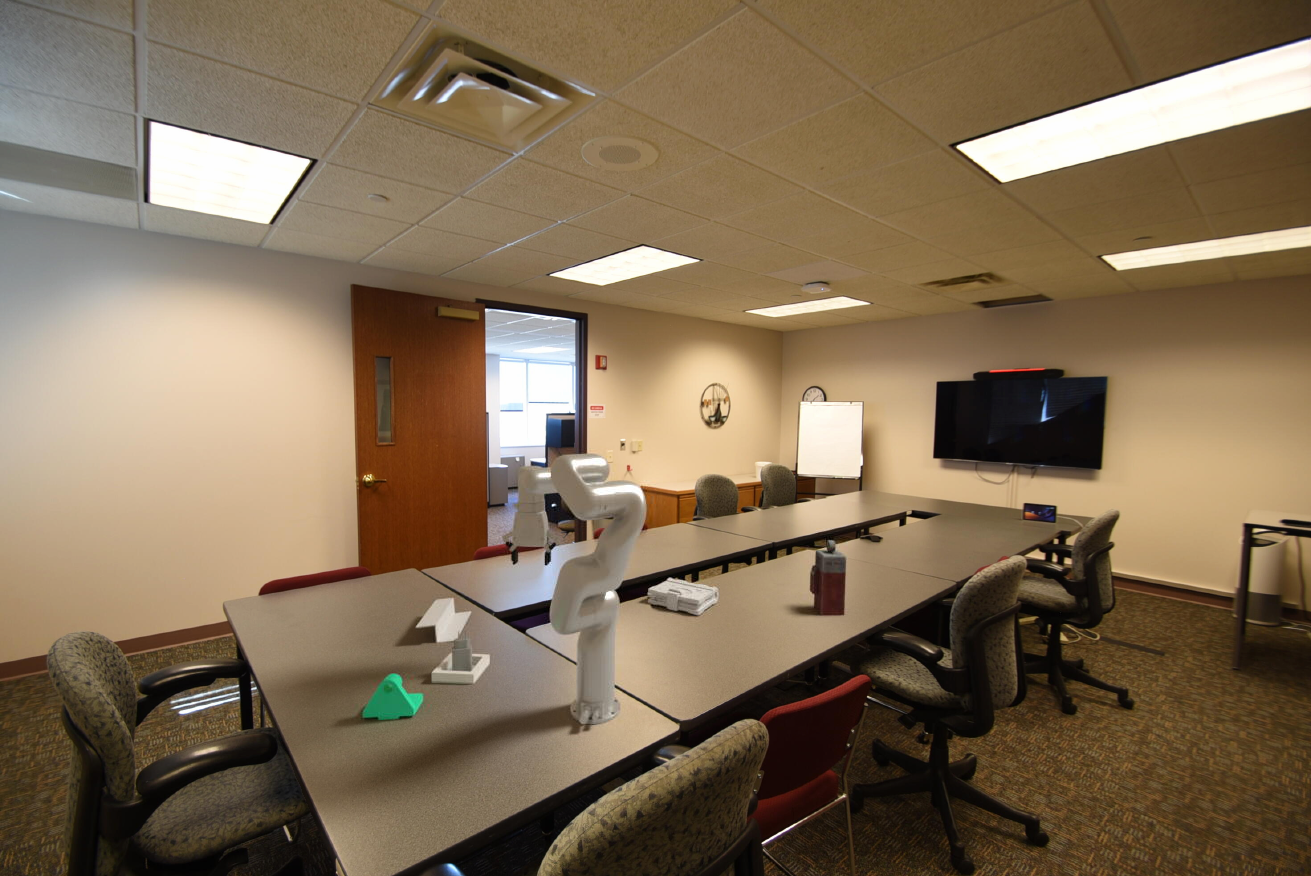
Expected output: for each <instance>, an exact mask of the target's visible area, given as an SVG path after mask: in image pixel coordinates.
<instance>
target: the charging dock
mask: <svg viewBox="0 0 1311 876" xmlns="http://www.w3.org/2000/svg"><path fill="white" fill-rule="evenodd" d="M490 656H491V655H490V654H487V653H486V654H483V653H472V670H471V672H469V671H452V652H450V653H449V654H448V655H447V656H446V657H445V658H444V659H443V660H442V661H441V662H440V663H439V664H438V665H437V666H436V667H435V668H434V669H433V671H432V672H431V684H457V685H460V684H461V685H462V684H463V685H475V683H476V682H477V681H478V680H479V678H480V677H481V676H482V675H483V673H484V672H485V671H486V670H487V668H488V667H489V665H490V664H491V662H490V661H491V659H490V658H491V657H490Z"/></svg>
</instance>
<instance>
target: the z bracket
mask: <svg viewBox="0 0 1311 876" xmlns="http://www.w3.org/2000/svg"><path fill="white" fill-rule="evenodd" d="M471 614H472V611H471V610H470V611H462V612H456V611H455V598H454V597H448V598H439V599H438V598H437V599H435V601H433V603H432V605H430V607H429V608H428V610H427V611H426V612H425V614H424V615H423V616H422V617H421V619H420V620H419V621H418V623H417V625H416V626H415V629H420V628H428V627H434V632H435V642H436V644H441V643H443V644H444V643H451V642H453V643H454V640H455V639H456V638H458V631H459V636H460V635H461V633H462V631H463V629H464V627H465V625H466V623H467V621H468V620H469V618H470V616H471Z"/></svg>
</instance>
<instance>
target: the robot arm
mask: <svg viewBox="0 0 1311 876" xmlns="http://www.w3.org/2000/svg"><path fill="white" fill-rule="evenodd" d="M610 469H611V468H610V464H609V462H608V461H607V460H606V459H605V457H603V456H602V455H599V454H597V453H577V454H576V453H575V454H573V453H572V454H563V455H560V456H558V457H556V458H555V459H554V460H553V462H552V464H551V466H550V467H548V466H547V467H542V466H539V465H523V466H521V467H519V469H518V472H517V478H518V479H517V481H518V482H517V484H518V485H517V492H518V493H517V497H518V498H517V500H518V501H517V502H515V503H513V508H514V509H517V510H516V511H515V513H514V517H513V524H512V530H511V531H510V532H508V533H505V534H504V535H503V536H502V541H503V542H504V545H505V546H506V547H507V548H508V550H509V551H510V557H511V558H510V560H511V562H512V565H514V566H515V565H516V564H517V563H519V550H518V547H526V548H527V547H529V548H530V547H532V548H533V547H535V548H536V547H537V548H538V547H540V548H541V547H542V548H543V550H545V552H544V566H546V567H547V566H548V565H549V564H550V563H551V562H552V550H553V549H554V548H555V547H556V546H557V545H558V543H559V541H560V539H561V536H559V535H558V534H556V533H555V532H552V531H550V530H549V528H550V527H549V520H548V515H547V512H546V510H545V495H546V494H547V495H548V494H557V493H558V494H559V495H560V497H561V498H562V500H563V501H564V503H565V504H566V506H567V507H568V508H569V510H570V511H571V513H572V514H573V516H575V517H576V518H577V519H579V520H581V521H595V520H603V519H609V518H613V519H612V520H611V521H610V522H609V523H608V524H607V525H606V526H605V527H604V529H603V530H602V531H601V533H600V535H599V537H598V539H597V543H596V547H595V549H594V551H593V552H592V553H590V554H587V555H582V556H577V557H573V558H571V559H568V560H567V561H566V562H564V564H562V566H561V568H560V570H559V573H558V577H557V580H556V583H555V587H554V592H553V595H552V598H551V603H550V606H549V607H550V608H549V621H550V625H551V627H552V629H553V631H555V632H556V633H557V634H558V635H562V636H567V635H574V634H576V633H579V635H578V639H577V642H576V643H577V644H576V699H574V700H573V701H572V702H571V703H570V707H569V708H570V709H569V710H570V711H569V713H570V715H571V717H572V718H573V719H574V720H575V721H577V722H578V723H580V724H582V725H586V724H587V725H600V724H601V725H602V724H605V723H607V722H610V721H612V720H614V719H615V718H617V716H619V714H620V713H621V702H620V700H619V699H617V698H616V697H615V678H616V677H615V674H616V673H615V672H616V671H615V669H616V667H615V665H616V664H615V663H616V659H615V658H616V632H617V631H616V630H617V624H618V618H619V613H620V604H621V603H620V597H619V595H618V593H617V591H616V590H617V589H619V587H620V586H621V585H622V584H623V580H624V577H625V575H626V572H627V569H628V565H629V562H630V559H631V557H632V553H633V551H634V547H635V544H636V542H637V540H638V537H639V536H640V535H641V531H642V529H643V527H644V525H645V523H646V522H645V521H646V517H647V500H646V496H645V493H644V491H643V489H642V488H641V486H640V485H639V484H637V482H633V481H631V480H630V481H629V480H623V479H622V480H607V479H608V478H609V475H610V471H611V470H610ZM511 537H512V540H510V538H511ZM549 539H552V540H553V542H552V543H551V544H550V542H549V541H550V540H549Z"/></svg>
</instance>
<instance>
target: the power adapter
mask: <svg viewBox="0 0 1311 876" xmlns="http://www.w3.org/2000/svg"><path fill="white" fill-rule="evenodd" d="M451 653H452V671H469V672H471V670H472V654H473V644H472V643H471V637H468V636H467V630H465V631H464V637H463V636H462V637H460V635H459V631H458V638H456V639H455V640H454V641H453V646H452V648H451Z"/></svg>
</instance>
